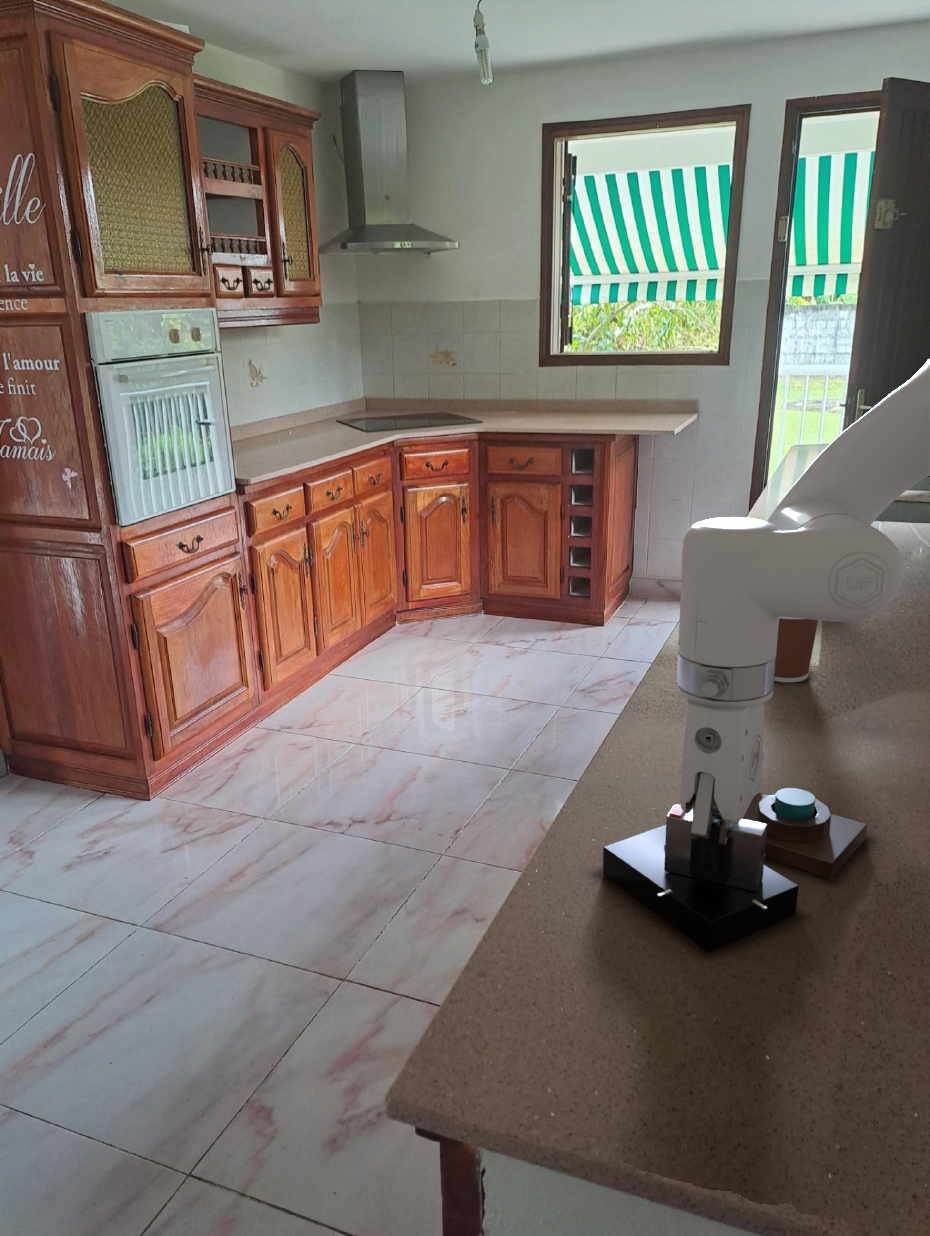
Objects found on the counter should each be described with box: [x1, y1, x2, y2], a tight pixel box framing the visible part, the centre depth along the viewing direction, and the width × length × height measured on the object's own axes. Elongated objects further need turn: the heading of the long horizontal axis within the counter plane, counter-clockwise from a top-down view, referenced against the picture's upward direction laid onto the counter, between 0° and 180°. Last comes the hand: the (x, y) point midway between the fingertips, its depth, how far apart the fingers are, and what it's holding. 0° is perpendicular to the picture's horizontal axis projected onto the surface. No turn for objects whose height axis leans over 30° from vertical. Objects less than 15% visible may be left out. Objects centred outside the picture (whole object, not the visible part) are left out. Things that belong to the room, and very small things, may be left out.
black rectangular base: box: [602, 824, 800, 953], centre depth 86 cm, size 15×12×3 cm
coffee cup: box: [774, 616, 819, 683], centre depth 134 cm, size 9×9×12 cm
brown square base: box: [742, 792, 868, 880], centre depth 94 cm, size 11×9×4 cm
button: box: [774, 787, 816, 820], centre depth 93 cm, size 4×4×2 cm
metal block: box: [664, 803, 767, 892], centre depth 83 cm, size 8×2×6 cm, turn 60°
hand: (713, 869), depth 84 cm, fingers closed on metal block, 2 cm apart
